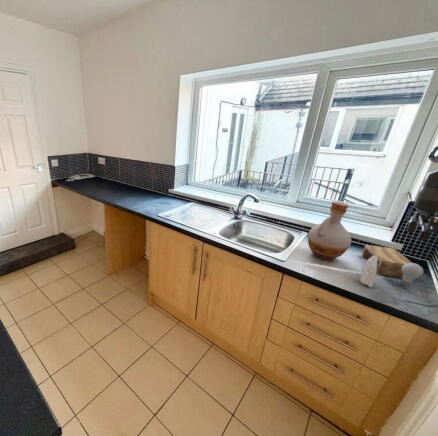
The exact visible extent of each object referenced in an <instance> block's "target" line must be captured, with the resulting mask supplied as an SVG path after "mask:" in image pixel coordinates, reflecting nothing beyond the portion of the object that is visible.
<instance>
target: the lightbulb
mask: <svg viewBox="0 0 438 436" xmlns="http://www.w3.org/2000/svg"><path fill="white" fill-rule="evenodd" d="M402 272H403V278H401V279H402V280H401V285H402V286H404V287H409V286H410V285H411V284H412V283H413V282H414V281H415V280H416V279H418V278H420V277H421V276H422V275H423V274H424V269H423V267H422V266H421V265H419V264H418V263H414V262H412V263H407V264H405V265H404V266H403V267H402Z"/></svg>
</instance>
